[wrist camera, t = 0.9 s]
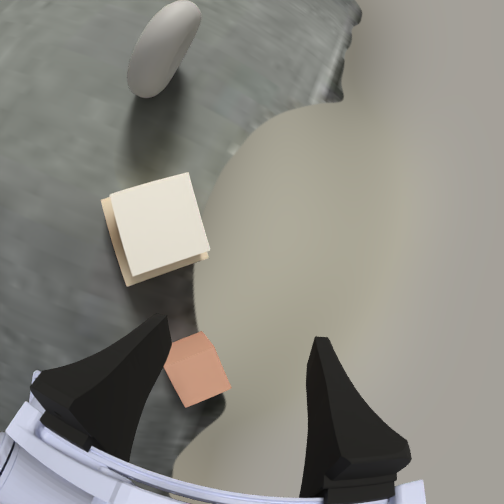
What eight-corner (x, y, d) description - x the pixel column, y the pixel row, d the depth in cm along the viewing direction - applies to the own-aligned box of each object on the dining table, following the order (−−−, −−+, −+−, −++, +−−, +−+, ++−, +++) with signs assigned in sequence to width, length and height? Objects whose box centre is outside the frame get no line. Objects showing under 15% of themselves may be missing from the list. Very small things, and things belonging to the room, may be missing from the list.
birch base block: (200, 256, 25) (208, 257, 22) (128, 281, 22) (126, 286, 19) (178, 183, 24) (184, 174, 21) (106, 205, 21) (100, 200, 18)
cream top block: (200, 249, 21) (210, 250, 18) (133, 271, 19) (132, 276, 16) (181, 182, 21) (188, 172, 18) (114, 202, 19) (109, 194, 16)
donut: (152, 120, 22) (165, 57, 13) (120, 110, 21) (118, 44, 11) (191, 52, 23) (220, -11, 14) (164, 43, 22) (183, -22, 12)
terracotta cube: (217, 368, 25) (231, 388, 21) (177, 384, 24) (185, 407, 19) (201, 330, 24) (214, 346, 20) (159, 347, 23) (163, 366, 19)
